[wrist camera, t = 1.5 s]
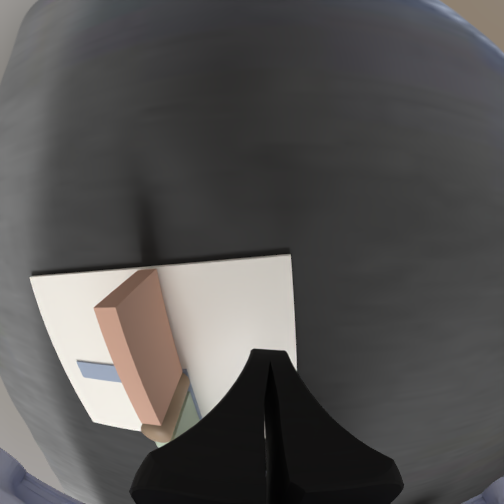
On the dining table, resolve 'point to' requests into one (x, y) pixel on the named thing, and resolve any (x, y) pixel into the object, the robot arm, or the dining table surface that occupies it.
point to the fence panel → (144, 352)
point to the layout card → (173, 326)
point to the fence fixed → (184, 418)
